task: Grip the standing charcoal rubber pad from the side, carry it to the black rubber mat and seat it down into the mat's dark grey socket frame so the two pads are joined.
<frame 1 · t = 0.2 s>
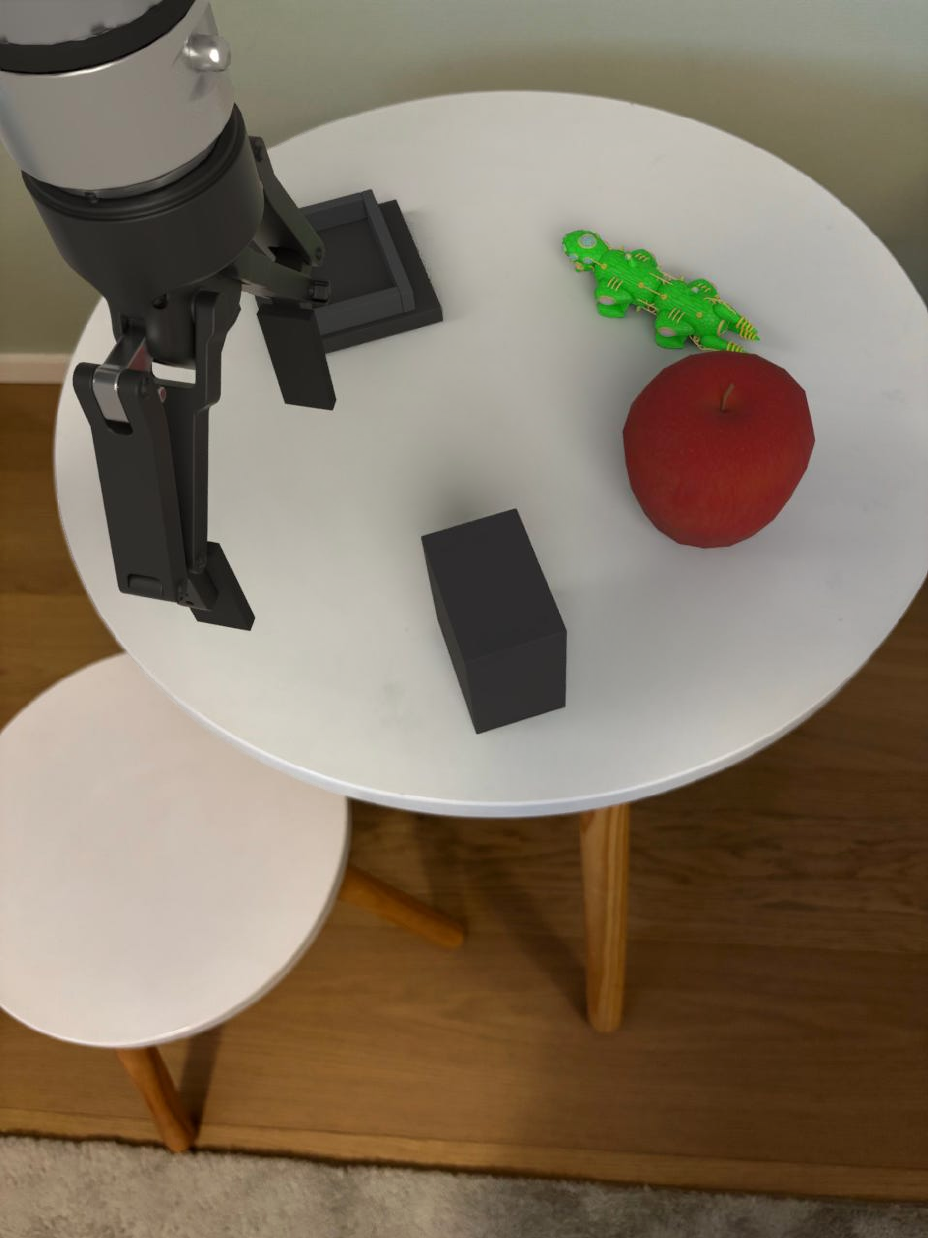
hand: (271, 504, 53), 19 cm above the table, tool pointing down, fingers open, 13 cm apart
pad block: (499, 661, 68), on the table
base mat: (340, 286, 87), on the table
apple: (701, 516, 73), on the table
crocodile figurine: (653, 313, 83), on the table
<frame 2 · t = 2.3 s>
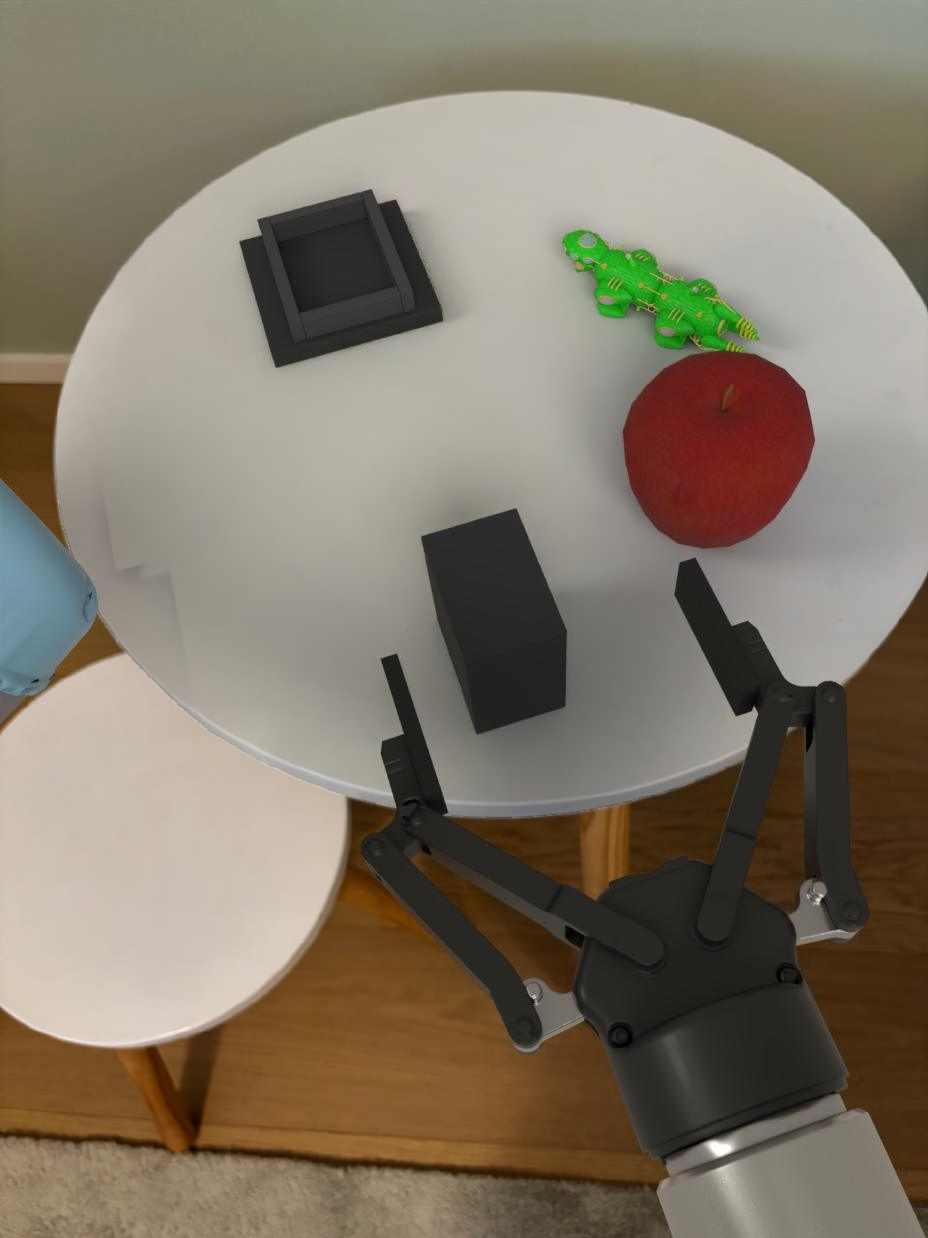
hand: (540, 622, 46), 21 cm above the table, tool horizontal, fingers open, 13 cm apart
nothing on the table moved.
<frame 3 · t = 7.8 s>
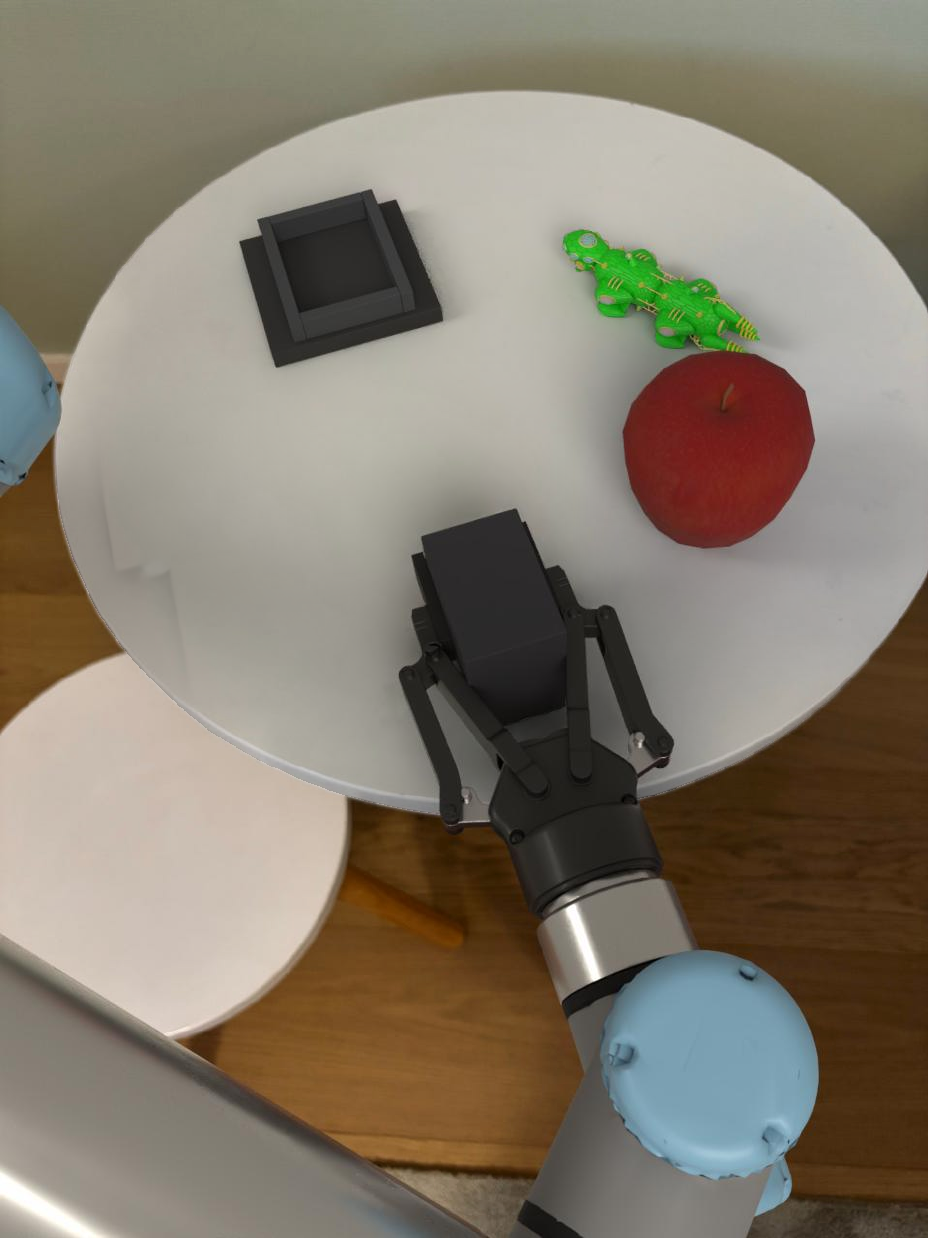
hand: (470, 550, 65), 6 cm above the table, tool horizontal, fingers closed on pad block, 6 cm apart
pad block: (499, 661, 68), on the table, touching gripper
everything else where it was.
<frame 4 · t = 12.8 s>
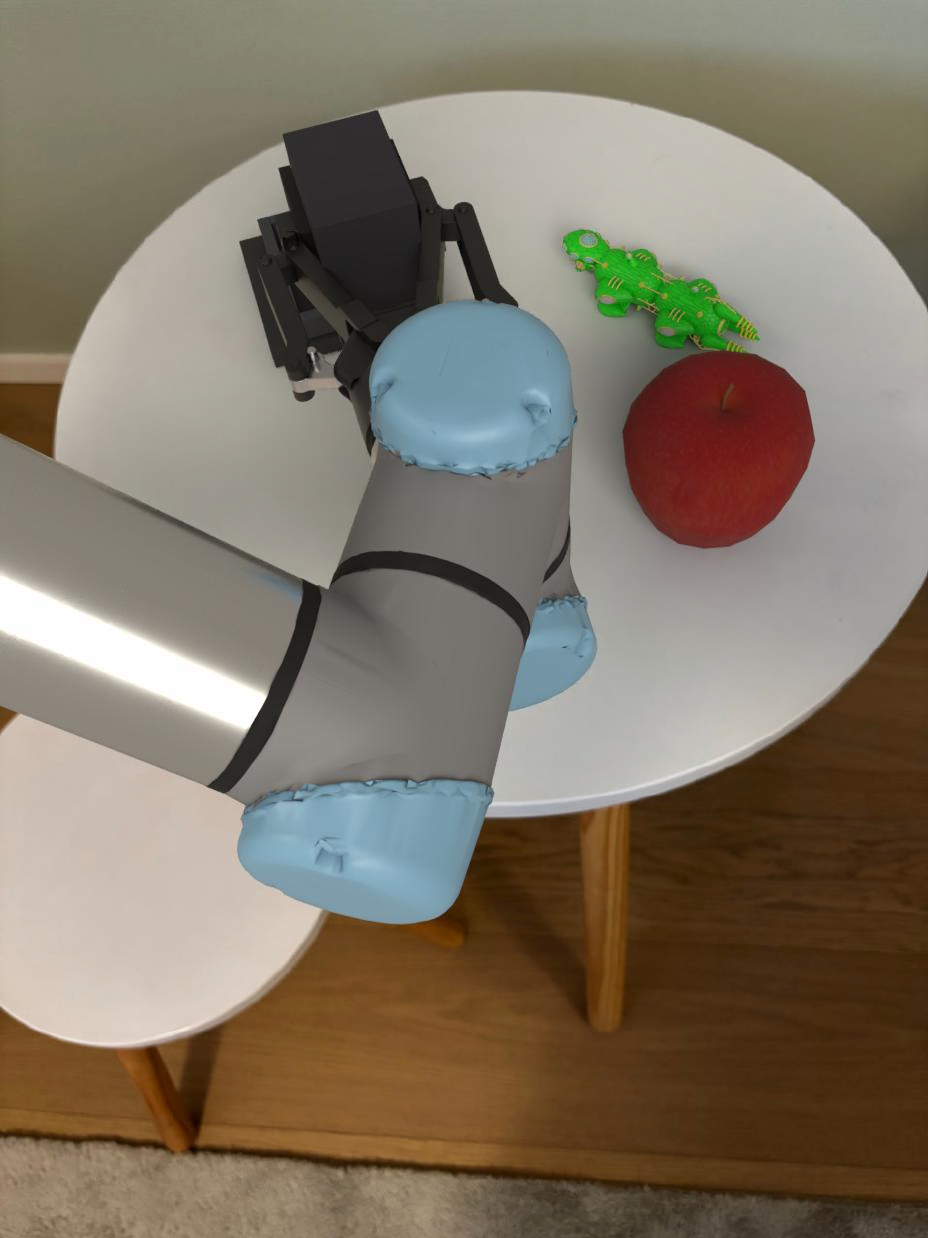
hand: (339, 172, 66), 18 cm above the table, tool horizontal, fingers closed on pad block, 6 cm apart
pad block: (373, 296, 69), point 12 cm above the table, touching gripper
everything else where it was.
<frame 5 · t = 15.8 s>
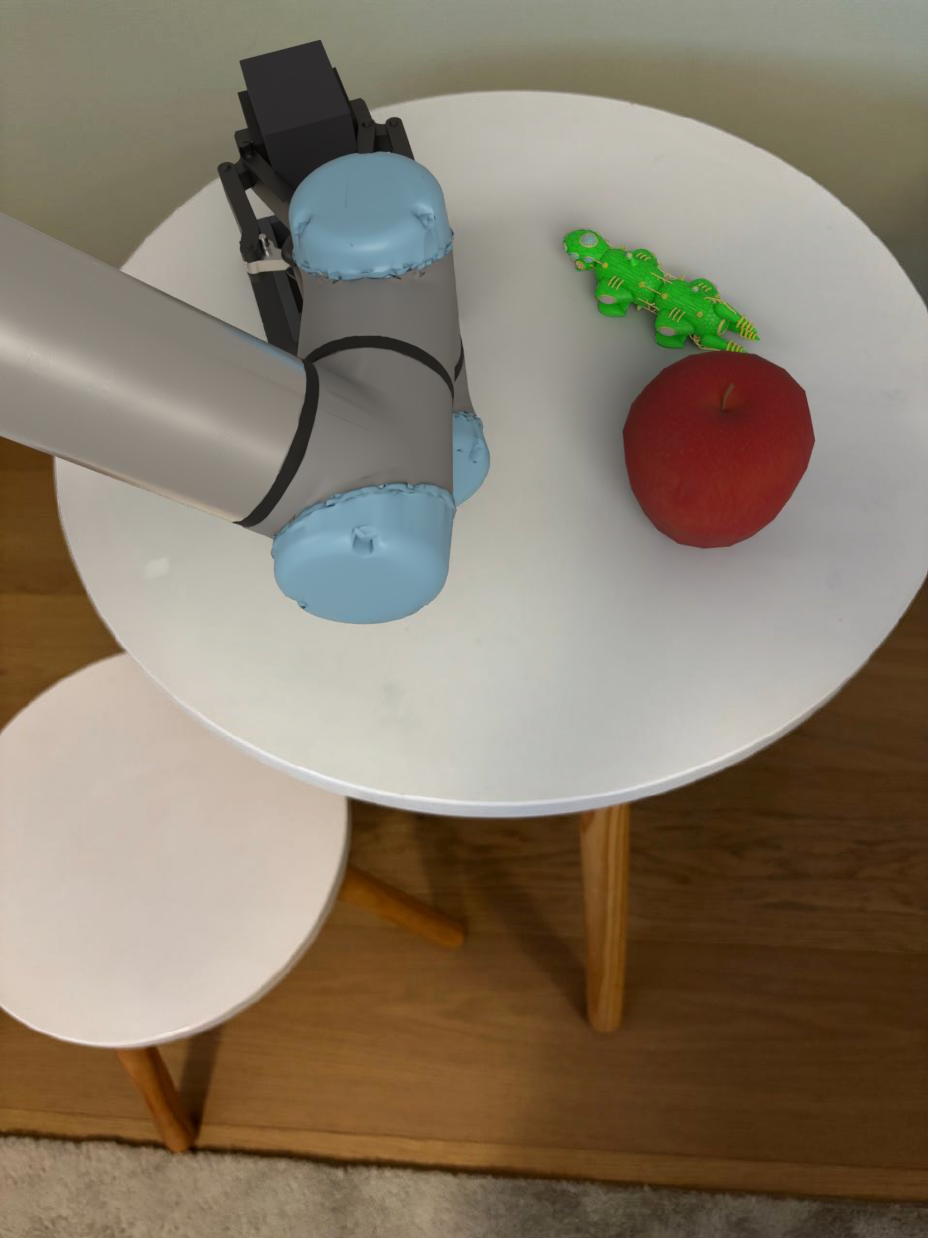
hand: (290, 96, 77), 14 cm above the table, tool horizontal, fingers closed on pad block, 6 cm apart
pad block: (322, 206, 80), point 8 cm above the table, touching gripper
everything else where it was.
when the fingers open (7 cm above the table, at t = 17.9 s): pad block stays where it is, resting on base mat.
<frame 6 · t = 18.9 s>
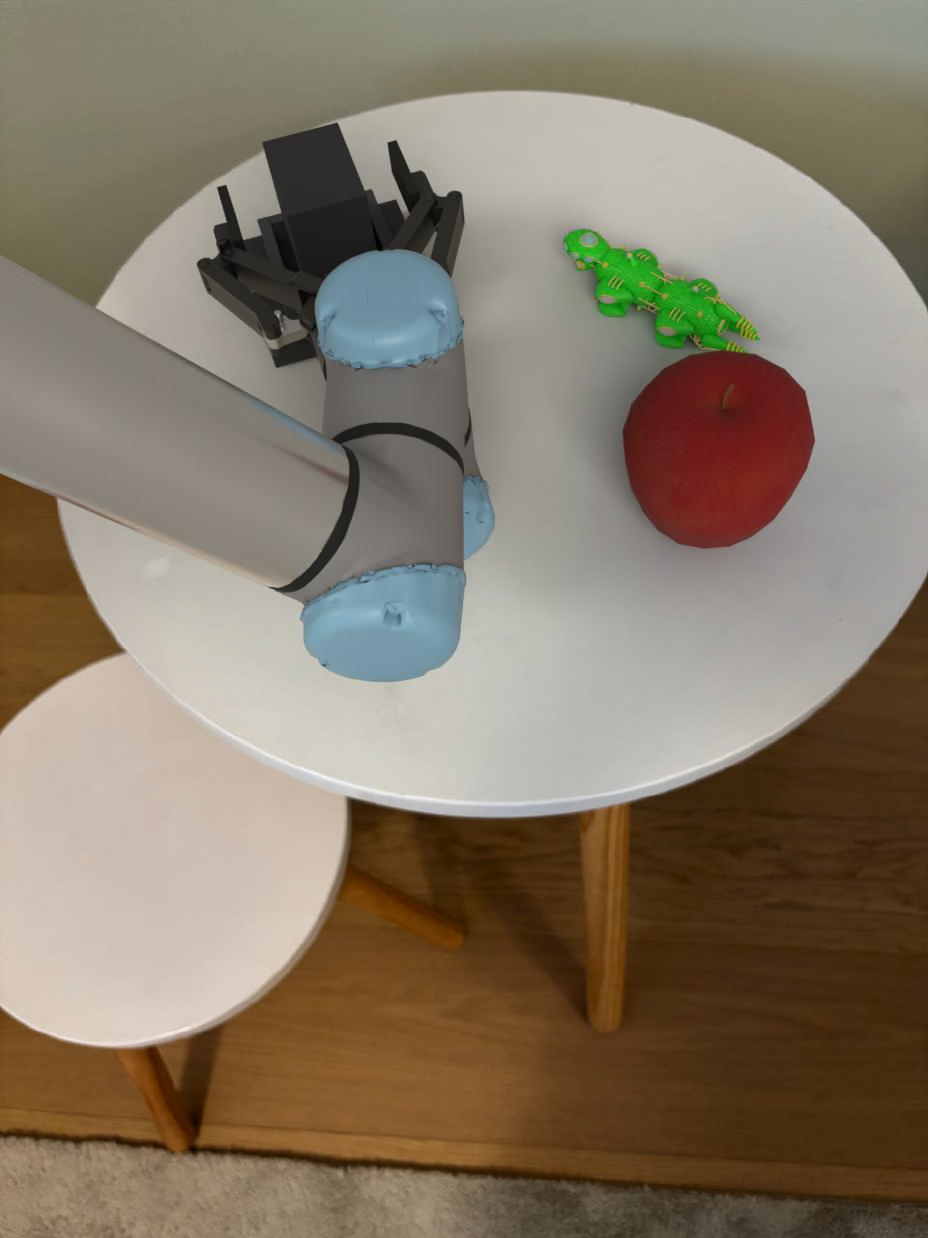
hand: (310, 177, 81), 8 cm above the table, tool horizontal, fingers open, 13 cm apart
pad block: (337, 272, 85), point 1 cm above the table, touching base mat
everything else where it was.
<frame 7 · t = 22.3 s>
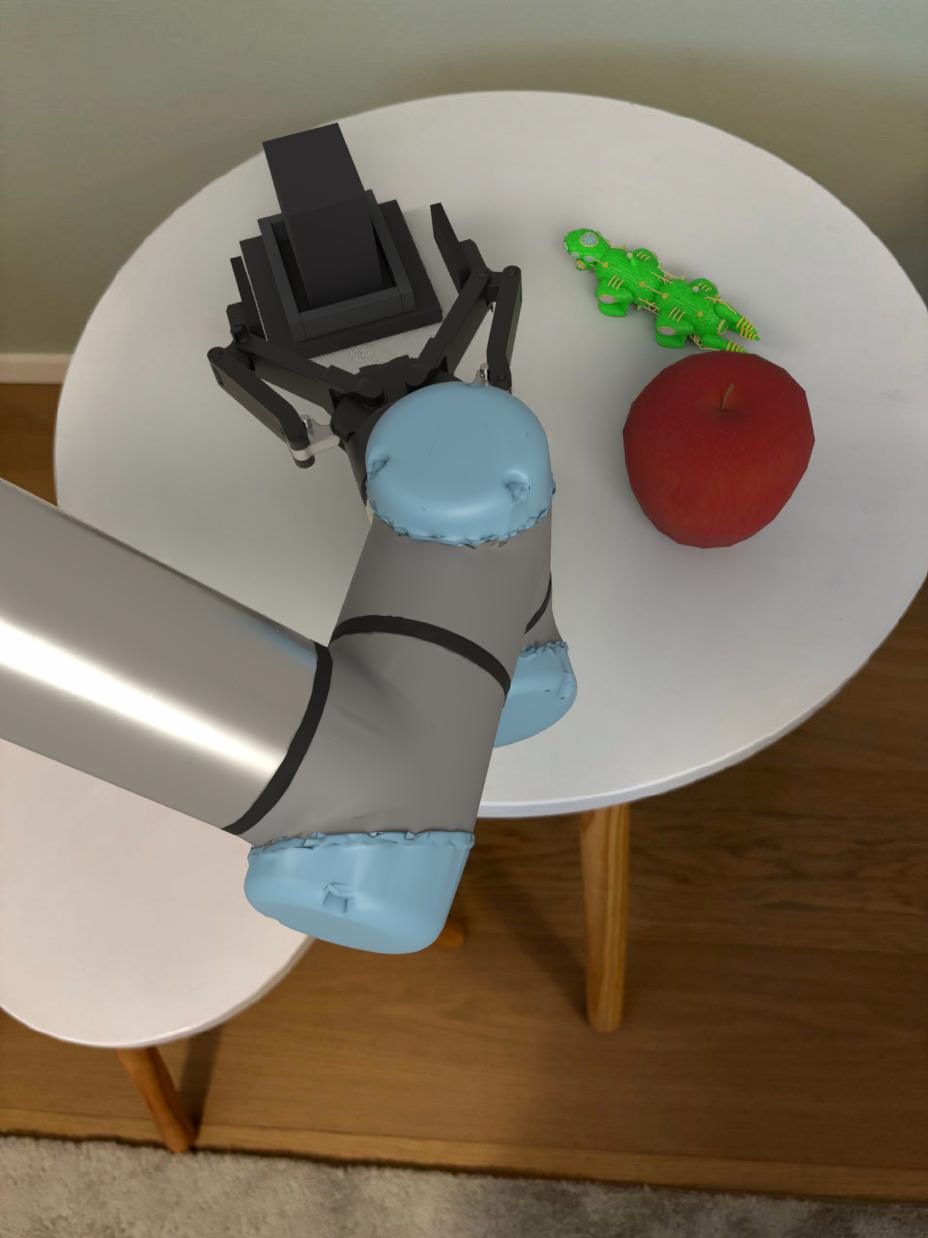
hand: (339, 245, 69), 14 cm above the table, tool horizontal, fingers open, 13 cm apart
nothing on the table moved.
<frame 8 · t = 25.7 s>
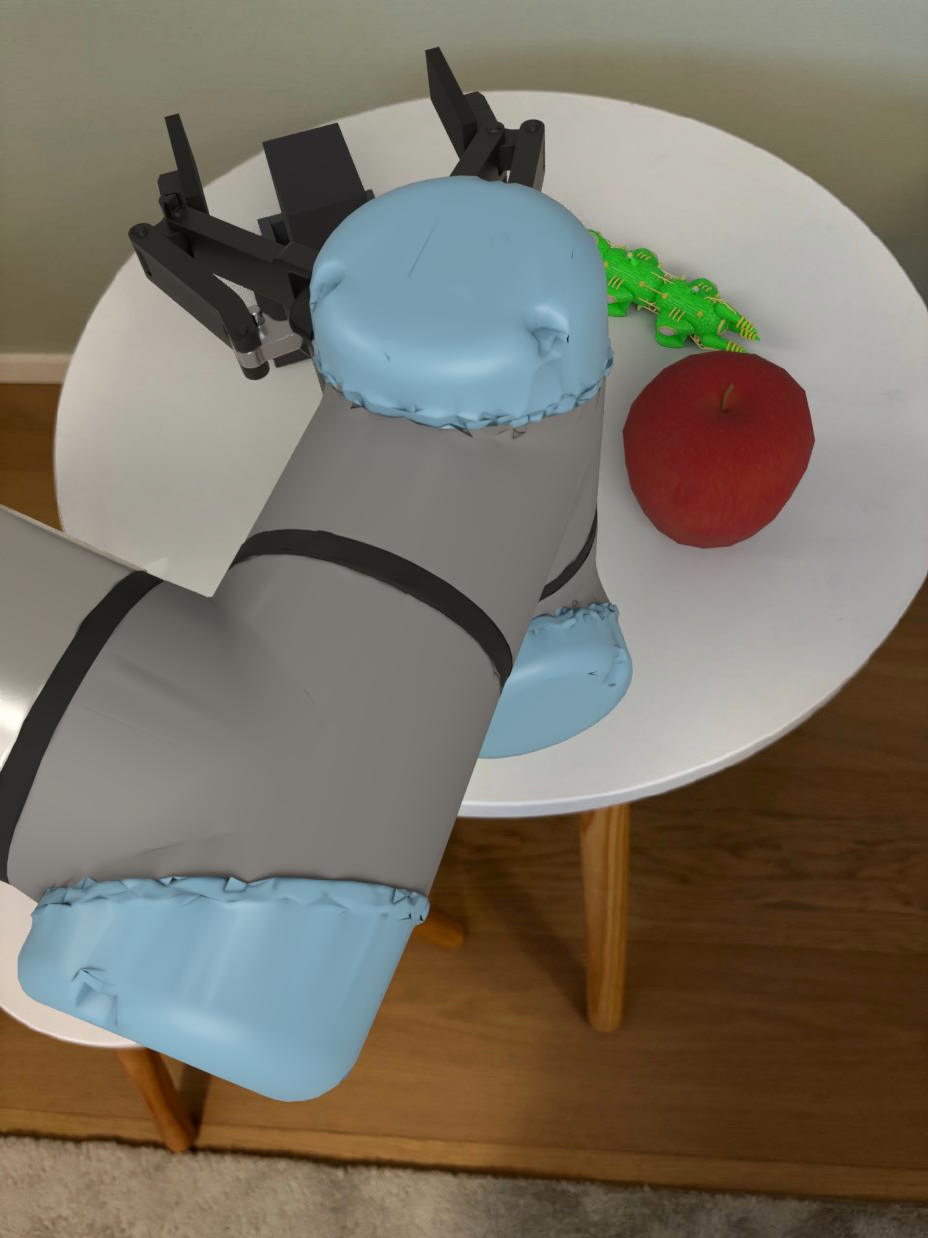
hand: (308, 105, 53), 28 cm above the table, tool horizontal, fingers open, 13 cm apart
nothing on the table moved.
at the end: pad block 0.0 cm off-centre on the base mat, point 1.5 cm above the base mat's base; pad block tilted 0°; the gripper is holding nothing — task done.
